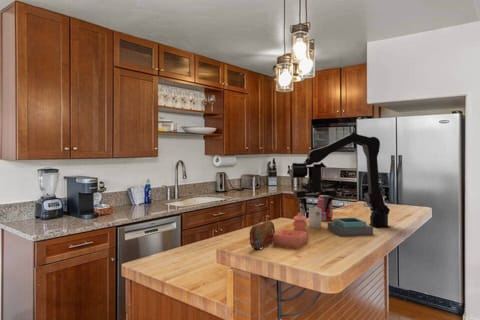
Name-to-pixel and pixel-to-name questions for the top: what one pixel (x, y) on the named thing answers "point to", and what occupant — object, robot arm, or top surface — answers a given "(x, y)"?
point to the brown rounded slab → (262, 234)
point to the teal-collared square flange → (350, 227)
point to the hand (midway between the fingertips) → (315, 212)
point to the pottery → (293, 234)
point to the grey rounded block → (315, 217)
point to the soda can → (324, 215)
